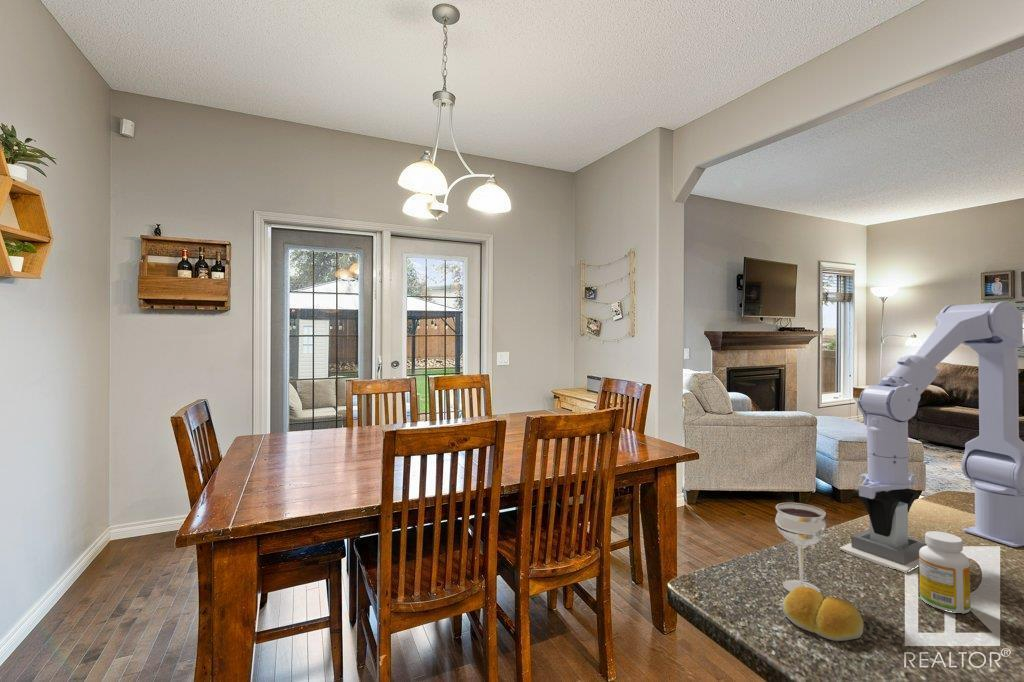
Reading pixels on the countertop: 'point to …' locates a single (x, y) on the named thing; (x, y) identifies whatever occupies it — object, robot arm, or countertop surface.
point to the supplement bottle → (944, 573)
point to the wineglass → (800, 532)
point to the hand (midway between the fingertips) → (888, 531)
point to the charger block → (895, 529)
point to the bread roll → (823, 614)
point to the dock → (885, 552)
